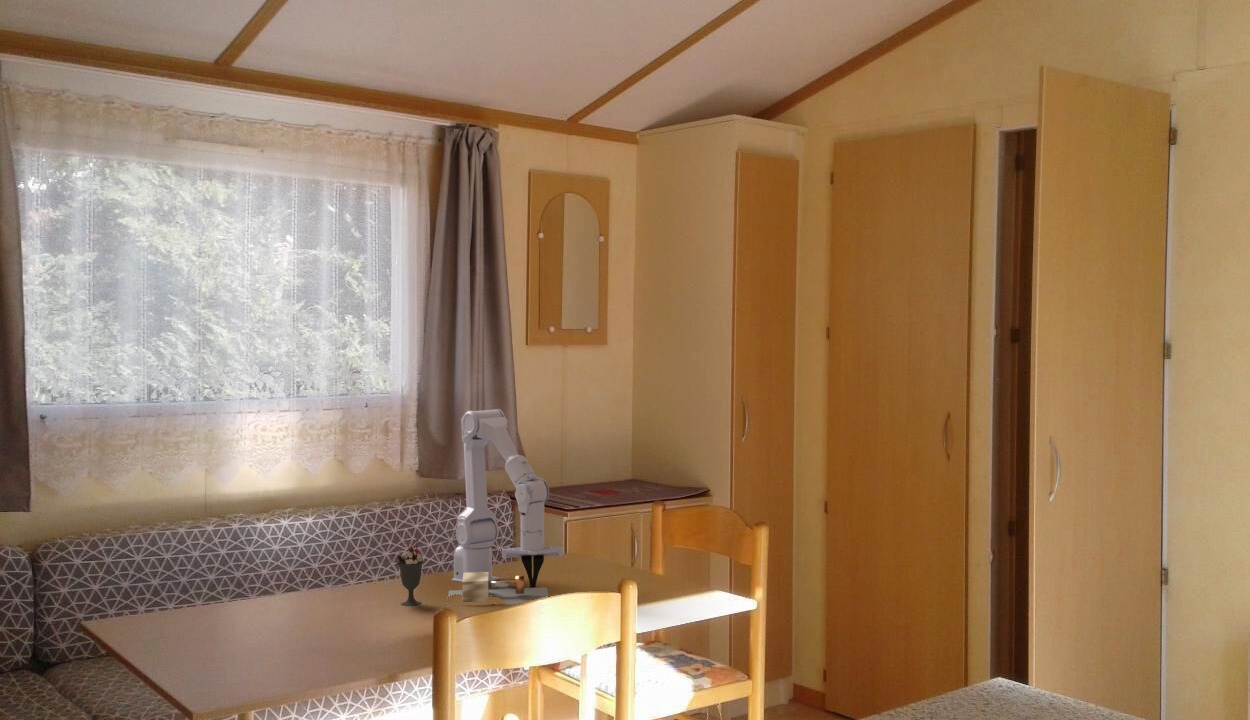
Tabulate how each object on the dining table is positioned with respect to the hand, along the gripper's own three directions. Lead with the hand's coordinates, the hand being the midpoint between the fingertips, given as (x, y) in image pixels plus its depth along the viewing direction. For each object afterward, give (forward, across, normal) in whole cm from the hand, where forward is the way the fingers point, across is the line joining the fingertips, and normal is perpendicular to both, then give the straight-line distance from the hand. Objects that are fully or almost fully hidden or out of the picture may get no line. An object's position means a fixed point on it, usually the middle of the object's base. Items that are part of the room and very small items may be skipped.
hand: (532, 586), depth 271 cm
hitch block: (+2, -14, 0) cm, 14 cm away
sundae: (+3, -28, -4) cm, 29 cm away
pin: (+2, -7, 0) cm, 7 cm away
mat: (+2, -8, 0) cm, 9 cm away
